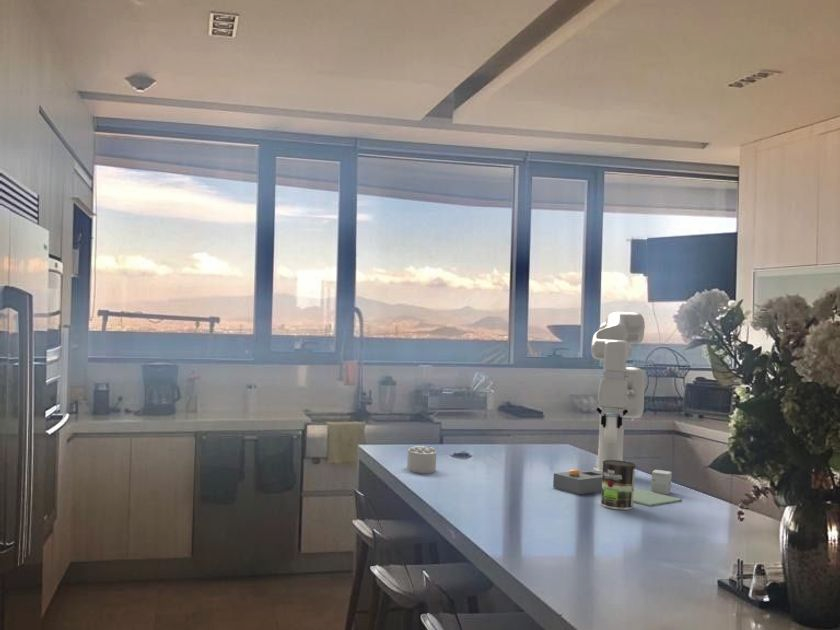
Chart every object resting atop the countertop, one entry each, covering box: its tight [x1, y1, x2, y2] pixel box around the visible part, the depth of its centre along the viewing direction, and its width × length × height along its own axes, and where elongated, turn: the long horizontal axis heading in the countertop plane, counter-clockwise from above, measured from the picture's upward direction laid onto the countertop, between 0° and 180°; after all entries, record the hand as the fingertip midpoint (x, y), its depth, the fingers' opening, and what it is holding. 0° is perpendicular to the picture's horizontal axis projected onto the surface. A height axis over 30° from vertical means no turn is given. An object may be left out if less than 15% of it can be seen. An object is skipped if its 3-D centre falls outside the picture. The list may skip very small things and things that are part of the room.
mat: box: [633, 488, 683, 507], centre depth 282 cm, size 18×18×1 cm
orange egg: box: [568, 468, 581, 477], centre depth 290 cm, size 4×4×6 cm
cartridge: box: [604, 413, 618, 443], centre depth 291 cm, size 4×4×10 cm
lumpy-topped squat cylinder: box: [406, 445, 437, 474], centre depth 314 cm, size 10×13×9 cm
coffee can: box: [600, 460, 636, 511], centre depth 267 cm, size 10×10×14 cm
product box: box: [650, 469, 673, 495], centre depth 295 cm, size 6×6×7 cm
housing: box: [552, 469, 603, 495], centre depth 293 cm, size 18×12×5 cm, turn 127°
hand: (611, 426), depth 291 cm, fingers closed on cartridge, 4 cm apart
